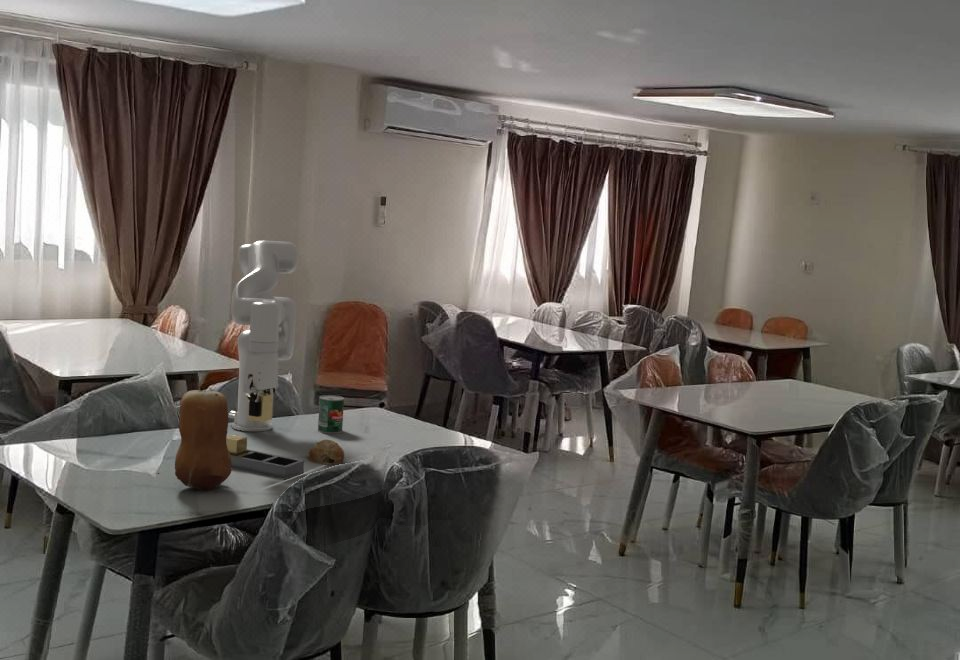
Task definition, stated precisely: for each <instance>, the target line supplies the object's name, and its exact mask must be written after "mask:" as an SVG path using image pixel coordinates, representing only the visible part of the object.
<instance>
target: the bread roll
mask: <svg viewBox="0 0 960 660" xmlns="http://www.w3.org/2000/svg"><path fill="white" fill-rule="evenodd" d="M307 458H308V461H310V462H314V463H319V464H323V466H331V465H332V466H333V465H340V464H342V463H343V462H344V459H345V451H344V449H343V448H342V447H341V446H340V445H339V444H338V443H337V442H336V441H334V440H331V439H323V440H320V441H318V442H316V444H315V445H312V446H311V448H310V449H309V451H308V457H307ZM339 463H340V464H339Z"/></svg>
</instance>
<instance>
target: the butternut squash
mask: <svg viewBox="0 0 960 660" xmlns="http://www.w3.org/2000/svg"><path fill="white" fill-rule="evenodd" d="M179 403H180V404H179V421H178V430H179V435H180V444H179V446H178V449H177V452H176V455H175V460H174V470H175V471H174V474H175V476H176V478H177V480H179V481H180V482H181V483H182V484H183V485H184V486H186V487H189V488H192V489H197V488H198V490H200V489H202V490H201V491H205V490H206V491H209V489H210V490H214V489H215V488H217V487H218V486H220V485H221V484H222V483H224V482H225V481H226V480H227V479H228V478H229V477H230V475H231V473H232V467H231V465H232V461H231V456H230V453H229V450H228V448H227V443H226V437H228V436H227V435H228V430H229V417H228V415H229V408H228V402H227V399H226V396H225V395H224V394H223V393H222V392H219V391H214V390H212V391H211V390H209V391H207V390H197V389H194V390H189V391H187V392H185V393H184V394H183V396H182V398H181V401H180V402H179Z"/></svg>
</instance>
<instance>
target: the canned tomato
mask: <svg viewBox="0 0 960 660" xmlns="http://www.w3.org/2000/svg"><path fill="white" fill-rule="evenodd" d="M318 403H319V404H318V418H317V419H318V422H317V431H318V432H319V433H323V434H330V435H331V434H341V433H342V432H343V424H344V423H343V421H344V406H345V397H343V396H341V395H335V394H334V395H331V394H328V395H325V394H324V395H320V396H319V402H318Z"/></svg>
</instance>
